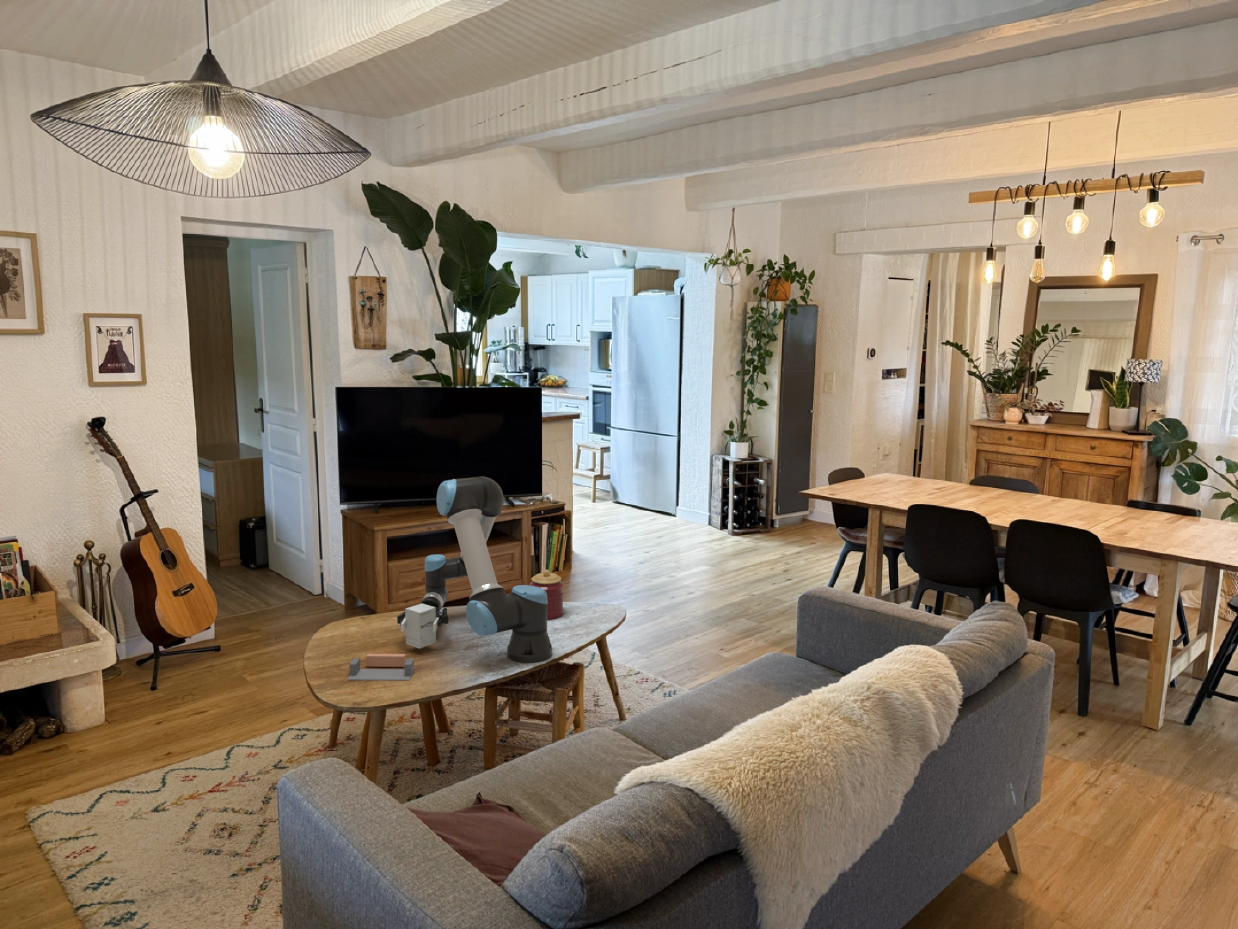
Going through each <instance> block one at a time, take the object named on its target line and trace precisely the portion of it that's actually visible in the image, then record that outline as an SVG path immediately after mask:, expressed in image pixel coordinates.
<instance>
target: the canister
mask: <svg viewBox="0 0 1238 929" xmlns="http://www.w3.org/2000/svg"><path fill="white" fill-rule="evenodd" d="M529 586H535V587H539V588H541V589H543V590H545V591H546V593H547V602H548V604H547V620H554V619H558V618H561V617H562V616H563V613H564V604H563V603H564V591H563V587H564V583H563V582H562V577H561V576H560V575H558V574H557V573H554V572H551V571H550V570H549V569H544V570H543V572H540V573H536V574H535V575H534V576H532V577H531V582H530V583H529Z"/></svg>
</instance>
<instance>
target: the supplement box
mask: <svg viewBox="0 0 1238 929" xmlns="http://www.w3.org/2000/svg"><path fill="white" fill-rule="evenodd" d="M404 612H405V619H406V628H405V644H406V645H409V646H411V647H414V648H417V649H419V650H420V649H422V648H425V647H428V646H431V645H432V644H436V643H437V631H436V632H433V623H434V621H435V619H436V608H435V607H432V606H429V605H426V604H420V603H419V604H416V605H413V606H412V605H411V606H409V607H407V608H404Z"/></svg>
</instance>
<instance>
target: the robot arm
mask: <svg viewBox="0 0 1238 929" xmlns="http://www.w3.org/2000/svg"><path fill="white" fill-rule="evenodd" d="M504 499H505V498H504V494H503V490H502V488H501V486H500V485H499V484H498V483H497V482H496V481H495V480H493V479H492V478H489V477H487V476H475V477H468V478H467V477H466V478H465V477H464V478H456V479H455V478H453V479H448V480H443V481H442V482H441V483H440V485H439V486H438V488H437V493H436V507H437V511H438V514H439V515H440V516H445V517H446V519H447V522H448V524H451V525H452V526H453V527H454V530H455V534H456V537H457V541H458V544H459V548H460V551H461V552H460V554H459V556H457V557H452V558H446V556H445V555H443V554H440V553H439V554H429V555H428V556H426V557H425V559H424V568H423V569H424V581H425V582H424V583H425V585H424V586H425V587H424V593H425V595H424V596H423V598H422V599H421V601H420V603H419V604H426V605H429V606H432V607H435V608H436V619H435V621H434V623H433V632H436V633H437V630H438V627H441V626H443V625H444V624H445V625H449V615H448V607H444V608H443V606H444V604H445V603H446V601H447V599H448V595H449V592H448V589H447V581H448V580H453V579H458V578H464V577H465V578H466V577H468V582H469V584H470V588H471V594H470V595H469V597H468V599H469V601H468V603H467V604H466V607H465V610H466V613H465V615H466V618H467V622H468V624H469V626H470V628H471V629H472V630H473V632H474V633H476V634H477V635H478V636H489V635H491V636H493V635H495V634H499V633H503V632H507V631H511V636H510V638H509V643H508V645H507V648H506V655H507V657H508V658H509V659H510V660H511V661H515V662H518V663H527V664H528V663H538V662H542V661H545V660H548V659H550V657H552V655H553V646H552V643H551V640H550V636H549V633H548V619H547V604H548V602H547V593H546V591H545V590H543V589H541V588H539V587H535V586H529V585H528V584H520V585H514V586H513V587H512V589H511V592H510V593H506V592H505V587H503V586H502V585H500V584H499V583H498V581H497V576H496V574H495V573H496V572H495V570H494V567H493V563H492V560H491V556H490V551H489V548H488V546H487V545H488V544H487V541H488V539H489V537H490V534H491V531H492V529H493V526H494V523H495V520H496V518H497V517H498V516H500V514H502V510H503V507H504V503H505V502H504V501H505V500H504ZM396 621H397V622H396V623H397V625H399V627H400V632H401V633H403V632H404V631H406V619H405V611H404V612H401V613H399V615H397V616H396Z"/></svg>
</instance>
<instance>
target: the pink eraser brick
mask: <svg viewBox="0 0 1238 929" xmlns="http://www.w3.org/2000/svg"><path fill="white" fill-rule="evenodd" d="M365 657H366V659H365V660H366V667H376V668H378V667H385V668H386V667H392V668H395V667H396V668H398V667H399V668H400V667H401V668H402V667H403V668H404V665H405V663H406V661H407V658H406V657H407V656H406V653H367V654H366V656H365Z"/></svg>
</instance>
